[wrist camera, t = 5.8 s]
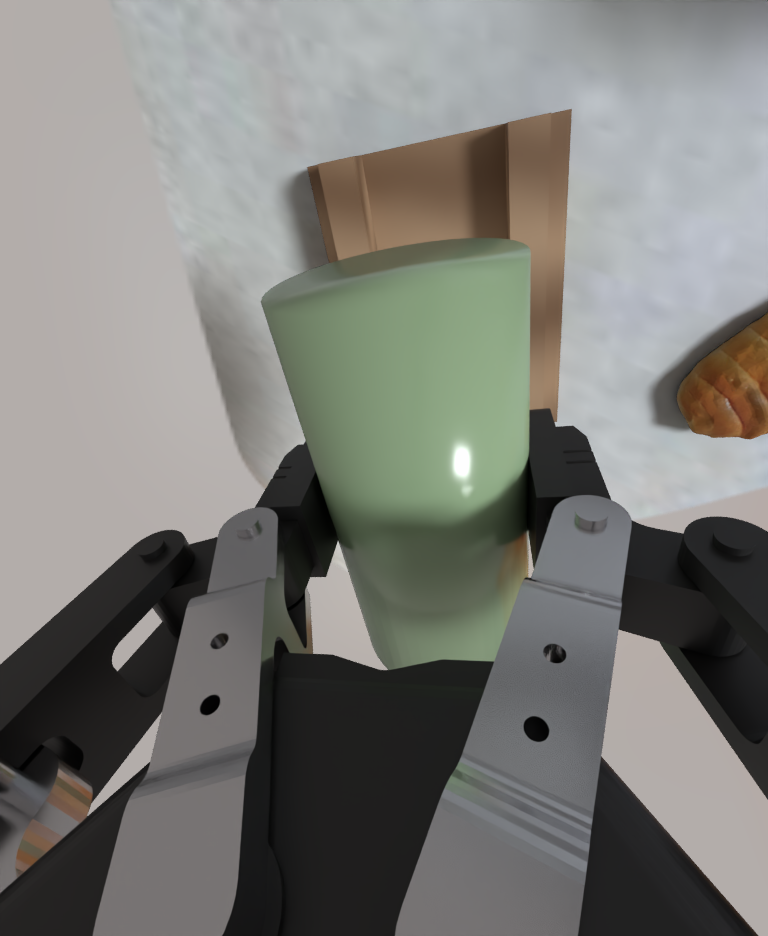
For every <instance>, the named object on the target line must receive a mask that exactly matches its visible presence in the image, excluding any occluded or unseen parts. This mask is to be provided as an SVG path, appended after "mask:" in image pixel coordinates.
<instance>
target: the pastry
mask: <svg viewBox="0 0 768 936" xmlns="http://www.w3.org/2000/svg"><path fill="white" fill-rule="evenodd" d="M677 402H678V406H679V409H680V411H681V413H682V414H683V416H684V417H685V419H686V421H687V423H688V425H689V427H690V429H691V430H692V431H693V432H694V433H697V434H703V435H707V436H710V437H712V438H718V437H722V438H723V437H741V438H744V439H753V438H755V437H758V436H760V435H763V434H767V433H768V313H766V314H765V315H764V316H763V317H762V318H760V319H759V320H757V321H755V322H753V323H752V324H750V325H748V326H747V327H746V328H744V329H743V330H742V331H741V332H739V333H738V334H737V335H735V336H734V337H732V338H731V339H729V340H728V341H726V342H725V343H723V344H722V345H720V346H719V347H718V348H716V349H715V350H714V351H712V352H711V353H710V354H708V355H707V356H706V357H705V358H703V359H702V360H701V361H700V362H698V363H697V365H696V366H695V367H694V369H693V370H692V371H691V372H690V373H689V375H688V376H687V377H686V378H685V379H684V380H683V381H682V383H681V384H680V387H679V390H678V393H677Z"/></svg>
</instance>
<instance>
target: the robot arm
mask: <svg viewBox="0 0 768 936" xmlns="http://www.w3.org/2000/svg"><path fill="white" fill-rule="evenodd" d="M528 533H529V540H530V546H531V553H532V559H533V567H534V571H533V574H532V576H531V578H528V577H525V578H524V580H523V581H522V584H521V586H520V589H519V592H518V595H517V597H516V600H515V603H514V606H513V609H512V612H511V615H510V618H509V620H508V623H507V626H506V629H505V632H504V635H503V638H502V641H501V644H500V646H499V649H498V652H497V655H496V658H495V661H470V660H446V659H441V660H436V661H431V662H426V663H422V664H417V665H412V666H407V667H402V668H397V669H392V670H378V669H375V668H372V667H369V666H366V665H362V664H359V663H356V662H353V661H350V660H347V659H344V658H341V657H338V656H335V655H327V654H313V643H312V625H311V606H310V594H309V592H308V589H307V584H308V581H309V579H310V577H326V575H327V572H328V569H329V566H330V563H331V560H332V557H333V554H334V551H335V548H336V545H337V542H338V538H337V535H336V532H335V529H334V526H333V522H332V519H331V516H330V513H329V510H328V507H327V504H326V501H325V498H324V495H323V492H322V489H321V486H320V482H319V479H318V476H317V473H316V470H315V467H314V464H313V461H312V458H311V455H310V452H309V449H308V446H307V442H306V441H305V443H304V445H297V446H296V447H295V448H294V449H292V450H291V451H290V452H289V453H288V454H287V455H285V457H284V459H283V460H282V462H281V464H280V465H279V469H278V470H277V471H276V472H275V474H274V476H273V479H271V481H270V483H269V484H268V486H267V488H266V489H265V491H264V493H263V495H262V496H261V498H260V500H259V501H258V503H257V505H256V507H255V508H252V509H248V510H245V511H242V512H240V513H238V514H237V515H235V516H233V517H232V518H230V519H229V520H228V521H227V522H226V523H225V524H224V525H223V526H222V528H221V529H220V531H219V534H218V537H216V538H212V539H209V540H205V541H201V542H197V543H193V544H190V545H189V544H188V542H187V540H186V538H185V537H184V535H183V534H182V533H181V532H179V531H176V530H165V531H160V532H157V533H154V534H152V535H150V536H148V537H146V538H144V539H142V540H141V541H139V542H138V543H137V544H135V545H134V546H133V547H132V548H131V549H130V550H129V551H127V553H125V554H124V555H123V556H122V557H121V558H120V559H118V560H117V561H116V562H115V563H114V564H113V565H112V566H111V567H110V568H108V569H107V570H106V571H105V572H104V573H103V574H102V575H100V576H99V577H98V578H97V579H96V580H95V581H94V582H93V583H92V584H90V585H89V586H88V587H87V588H86V589H85V590H84V591H82V592H81V593H80V594H79V595H78V596H77V597H76V598H75V599H74V600H72V601H71V602H70V603H69V604H68V605H67V606H66V607H65V608H63V609H62V610H61V611H60V612H59V613H58V614H57V615H55V616H54V617H53V618H52V619H51V620H50V621H49V622H48V623H47V624H45V625H44V626H43V627H42V628H41V629H40V630H39V631H38V632H36V633H35V634H34V635H33V636H32V637H31V638H30V639H29V640H27V641H26V642H25V643H24V644H23V645H22V646H21V647H20V648H18V649H17V650H16V651H15V652H14V653H13V654H12V655H11V656H9V657H8V658H7V659H6V660H5V661H4V662H3V663H2V664H0V936H758V935H757V934H756V932H755V931H754V930H753V929H752V928H751V927H750V926H749V924H747V922H746V921H745V920H744V919H743V918H742V917H741V915H740V914H739V913H738V912H737V911H736V910H735V909H734V907H733V906H732V905H731V904H730V903H729V902H728V901H727V900H726V898H725V897H724V896H723V895H722V894H721V893H720V891H719V890H718V889H717V888H716V887H715V886H714V885H713V883H712V882H711V881H710V880H709V879H708V878H707V877H706V875H704V873H703V872H702V871H701V870H700V869H699V867H698V866H697V865H696V864H695V863H694V862H693V861H692V859H691V858H690V857H689V856H688V855H687V854H686V853H685V851H684V850H683V849H682V848H681V847H680V846H679V845H678V843H677V842H676V841H675V840H674V839H673V838H672V837H671V836H670V834H669V833H668V832H667V831H666V830H665V829H664V828H663V826H662V825H661V824H660V823H659V822H658V821H657V819H656V818H655V817H654V816H653V815H652V814H651V813H650V812H649V810H648V809H647V808H646V807H645V806H644V805H643V803H642V802H641V801H640V800H639V799H638V798H637V797H636V796H635V794H634V793H633V792H632V791H631V790H630V789H629V788H628V786H627V785H626V784H625V783H624V782H623V781H622V780H621V778H620V777H619V776H618V775H617V774H616V773H615V772H614V770H613V769H612V768H611V767H610V766H609V765H608V763H607V762H606V761H605V760H604V759H603V758H602V757H601V753H602V746H603V739H604V732H605V724H606V717H607V710H608V702H609V695H610V688H611V680H612V673H613V666H614V658H615V651H616V644H617V636H618V629H619V630H622V631H626V632H629V633H632V634H636V635H640V636H643V637H646V638H650V639H653V640H657V641H660V644H661V645H662V647H663V649H664V650H665V652H666V653H667V654H668V656H669V657H670V659H671V660H672V662H673V663H674V665H675V666H676V667H677V669H678V670H679V672H680V673H681V675H682V676H683V677H684V679H685V680H686V682H687V683H688V684H689V686H690V688H691V689H692V691H693V692H694V694H695V695H696V696H697V698H698V699H699V701H700V702H701V704H702V705H703V706H704V708H705V709H706V711H707V712H708V714H709V715H710V717H711V718H712V719H713V721H714V722H715V724H716V725H717V727H718V728H719V729H720V731H721V733H722V734H723V736H724V737H725V738H726V740H727V741H728V743H729V744H730V746H731V747H732V749H733V750H734V751H735V753H736V754H737V755H738V757H739V759H740V760H741V762H742V763H743V764H744V766H745V767H746V769H747V770H748V772H749V773H750V775H751V776H752V777H753V779H754V780H755V782H756V783H757V785H758V786H759V788H760V789H761V790H762V792H763V793H764V795H765V796H766V798H767V799H768V532H767V531H765V530H763V529H762V528H760V527H758V526H756V525H753V524H751V523H748V522H745V521H742V520H738V519H734V518H728V517H706V518H701V519H698V520H695V521H693V522H692V523H690V524H689V525H688V526H687V527H686V529H685V531H684V534H682V533H677V532H671V531H666V530H660V529H655V528H651V527H647V526H644V525H641V524H638V523H636V522H634V521H632V520H631V517H630V515H629V513H628V512H627V511H626V510H625V509H624V508H623V507H622V506H621V505H619V504H618V503H616V502H614V501H612V500H611V498H610V495H609V493H608V490H607V488H606V485H605V482H604V480H603V477H602V475H601V472H600V470H599V467H598V465H597V462H596V459H595V457H594V454H593V452H592V451H591V447H590V444H589V442H588V439H587V437H586V436H585V435H584V434H583V433H582V432H580V431H579V430H578V429H577V428H575V427H574V426H563V427H556V426H555V423H554V420H553V416H552V413H551V410H550V408H545V409H533V410H529V471H528ZM151 608H153V609H154V610H155V612H156V613H157V615H158V616H159V617H160V618H161V620H162V621H163V622H162V623H161V624H160V625H159V626H158V627H157V628H156V630H155V631H154V632H153V633H152V634H151V635H150V636H149V637H148V639H147V640H146V641H145V642H144V643H143V644H142V645H141V646H140V647H139V648H138V650H137V651H136V652H135V653H134V654H133V655H132V656H131V657H130V658H129V660H128V661H127V662H126V663H125V664H124V665H123V666H122V667H121V668H120V669H119V671H118V672H117V671H116V669H115V668H114V667H113V665H112V655H113V652H114V650H115V648H116V646H117V645H118V643H119V642H120V641H121V640H122V639H123V638H124V637H125V636H126V635H127V634H128V633H129V632H130V631H131V630H132V628H133V627H134V626H135V625H136V624H137V623H138V622H139V621H140V620H141V619H142V618H143V617H144V616H145V615H146V614H147V613H148V611H150V609H151ZM161 712H162V715H161V719H160V723H159V728H158V732H157V736H156V740H155V745H154V749H153V753H152V757H151V761H150V762H149V763H148V764H147V765H146V766H145V767H144V768H142V769H141V770H140V771H139V772H138V773H137V774H136V775H135V776H133V777H132V778H131V779H130V780H129V781H128V782H127V783H125V784H124V785H123V786H122V787H121V788H120V789H118V790H117V791H116V792H115V793H114V794H113V795H112V796H110V797H109V798H108V799H107V800H106V801H105V802H104V803H102V804H101V805H100V806H99V807H98V808H97V809H96V810H94V811H93V812H92V813H91V814H90V815H89V816H87V814H88V812H89V809H90V806H91V803H92V802H93V801H94V799H95V798H96V797H97V795H98V794H99V793H100V792H101V790H102V789H103V788H104V786H105V785H106V784H107V782H108V781H109V780H110V778H111V777H112V776H113V775H114V773H115V772H116V771H117V769H118V768H119V767H120V766H121V764H122V763H123V762H124V760H125V759H126V758H127V756H128V755H129V753H131V751H132V750H133V748H134V747H135V746H136V745H137V743H138V742H139V741H140V739H141V738H142V737H143V735H144V734H145V733H146V731H147V730H148V729H149V728H150V727H151V725H152V724H153V723H154V721H155V720H156V719H157V717H158V716H159V715H160V714H161Z"/></svg>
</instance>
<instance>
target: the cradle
mask: <svg viewBox="0 0 768 936" xmlns="http://www.w3.org/2000/svg"><path fill="white" fill-rule="evenodd" d="M571 111H572V109H569V110H565V111H560V112H556V113H548V114H543V115H539V116H534V117H530V118H525V119H521V120H516V121H512V122H508V123H506V124H501V125H497V126H492V127H488V128H483V129H479V130H474V131H470V132H465V133H461V134H456V135H451V136H447V137H442V138H438V139H433V140H429V141H424V142H420V143H415V144H411V145H406V146H402V147H397V148H392V149H388V150H383V151H379V152H374V153H370V154H365V155H360V156H353V157H349V158H344V159H339V160H335V161H330V162H326V163H321V164H318V165H315V166H311V167H307V168H308V172H309V177H310V181H311V186H312V190H313V194H314V199H315V203H316V207H317V212H318V216H319V221H320V225H321V229H322V234H323V238H324V242H325V247H326V251H327V256H328V260H329V263H332V262H335V261H339V260H342V259H346V258H349V257H353V256H357V255H361V254H365V253H369V252H374V251H378V250H383V249H388V248H393V247H399V246H404V245H410V244H417V243H423V242H431V241H439V240H449V239H461V238H501V239H509V240H515V241H518V242H522V243H524V244H526V245H527V246H528V247H529V248H530V252H531V267H530V406H529V410H533V409H545V408H550V410H551V413H552V416H553V420H554V422H557V409H558V387H559V366H560V345H561V324H562V302H563V281H564V260H565V239H566V218H567V196H568V175H569V154H570V133H571Z"/></svg>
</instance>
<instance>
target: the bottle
mask: <svg viewBox="0 0 768 936" xmlns="http://www.w3.org/2000/svg"><path fill="white" fill-rule="evenodd" d="M530 267H531V252H530V248H529V247H528V246H527V245H526V244H524V243H522V242H518V241H515V240H509V239H501V238H461V239H449V240H439V241H431V242H423V243H417V244H410V245H404V246H399V247H393V248H388V249H383V250H378V251H374V252H369V253H365V254H361V255H357V256H353V257H349V258H346V259H342V260H339V261H335V262H332V263H329V264H326V265H322V266H319V267H316V268H314V269H311V270H308V271H306V272H303V273H301V274H298V275H296V276H293V277H291V278H289V279H287V280H285V281H283V282H281V283H279V284H278V285H276V286H274V287H273V288H271V289H270V290H269V291H268V292H266V293H265V295H264V296H263V297H262V300H261V304H262V307H263V310H264V313H265V316H266V319H267V322H268V325H269V329H270V332H271V335H272V338H273V341H274V344H275V347H276V350H277V353H278V356H279V359H280V362H281V365H282V369H283V372H284V375H285V378H286V381H287V384H288V387H289V390H290V393H291V396H292V399H293V402H294V406H295V409H296V412H297V415H298V418H299V421H300V424H301V427H302V430H303V433H304V436H305V439H306V442H307V446H308V449H309V452H310V455H311V458H312V461H313V464H314V467H315V470H316V473H317V476H318V479H319V482H320V486H321V489H322V492H323V495H324V498H325V501H326V504H327V507H328V510H329V513H330V516H331V519H332V522H333V526H334V529H335V532H336V535H337V538H338V541H339V544H340V547H341V550H342V553H343V556H344V559H345V562H346V566H347V569H348V572H349V575H350V578H351V581H352V584H353V587H354V590H355V593H356V596H357V599H358V602H359V605H360V609H361V612H362V614H363V618H364V621H365V624H366V627H367V630H368V633H369V636H370V639H371V642H372V645H373V648H374V650H375V652H376V654H377V656H378V658H379V659H380V660H381V662H382V663H383V664H384V666H385V667H386V668H387V669H388V670H392V669H397V668H402V667H407V666H412V665H417V664H422V663H426V662H431V661H436V660H441V659H446V660H470V661H495V658H496V655H497V652H498V649H499V646H500V644H501V641H502V638H503V635H504V632H505V629H506V626H507V623H508V620H509V618H510V615H511V612H512V609H513V606H514V603H515V600H516V597H517V595H518V592H519V589H520V586H521V584H522V581H523V580H524V578H525V577H528V546H529V533H528V471H529V406H530Z"/></svg>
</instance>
